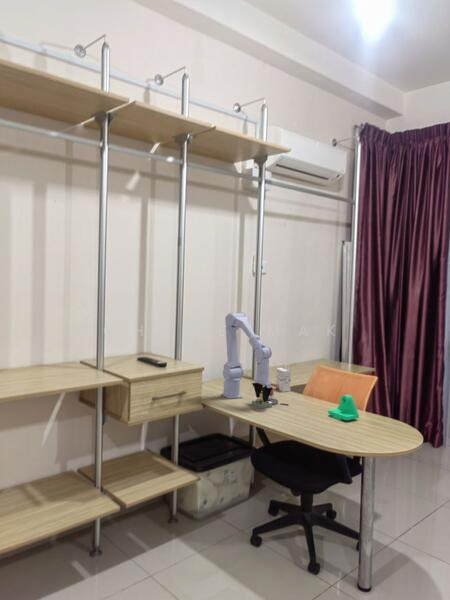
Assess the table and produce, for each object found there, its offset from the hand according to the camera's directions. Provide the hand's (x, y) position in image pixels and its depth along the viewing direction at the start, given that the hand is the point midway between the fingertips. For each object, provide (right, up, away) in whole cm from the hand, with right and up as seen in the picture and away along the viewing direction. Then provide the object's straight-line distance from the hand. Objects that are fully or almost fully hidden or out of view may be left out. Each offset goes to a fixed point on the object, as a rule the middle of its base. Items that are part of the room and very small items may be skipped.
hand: (261, 399), depth 237 cm
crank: (+4, -2, +10) cm, 11 cm away
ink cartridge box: (+14, -2, +34) cm, 37 cm away
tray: (0, -3, 0) cm, 3 cm away
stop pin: (0, -3, 0) cm, 3 cm away
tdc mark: (+11, -3, +4) cm, 12 cm away
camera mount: (+36, -6, -16) cm, 39 cm away
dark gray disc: (+3, -3, +7) cm, 8 cm away
